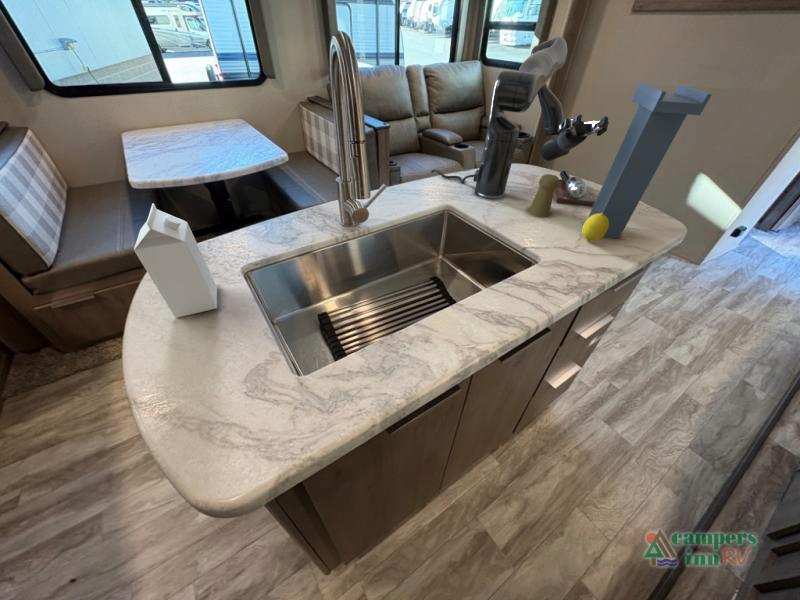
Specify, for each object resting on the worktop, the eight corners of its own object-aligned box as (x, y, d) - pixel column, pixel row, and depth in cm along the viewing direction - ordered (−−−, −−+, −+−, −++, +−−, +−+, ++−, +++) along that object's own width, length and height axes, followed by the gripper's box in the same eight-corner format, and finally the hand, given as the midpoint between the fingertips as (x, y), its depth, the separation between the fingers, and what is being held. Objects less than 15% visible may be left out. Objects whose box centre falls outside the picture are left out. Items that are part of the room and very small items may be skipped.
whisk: (585, 202, 99) (591, 186, 96) (568, 201, 100) (574, 185, 97) (569, 177, 115) (574, 163, 112) (554, 177, 116) (559, 162, 112)
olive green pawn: (545, 218, 94) (558, 181, 86) (525, 212, 96) (536, 176, 89) (551, 211, 97) (565, 175, 90) (532, 206, 100) (544, 170, 93)
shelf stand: (626, 243, 84) (712, 94, 62) (590, 239, 85) (662, 91, 63) (611, 222, 93) (682, 85, 71) (579, 219, 94) (639, 82, 72)
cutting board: (592, 205, 101) (594, 201, 100) (556, 202, 103) (557, 197, 102) (579, 185, 114) (581, 181, 113) (547, 182, 115) (548, 178, 114)
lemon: (590, 248, 82) (604, 220, 77) (572, 238, 86) (585, 210, 80) (604, 244, 84) (619, 216, 79) (586, 234, 88) (599, 206, 82)
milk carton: (175, 319, 59) (118, 226, 47) (178, 295, 64) (127, 206, 52) (217, 309, 62) (174, 218, 49) (217, 287, 66) (177, 200, 54)
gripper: (552, 123, 112) (570, 103, 96) (595, 126, 111) (621, 106, 95) (548, 145, 114) (565, 130, 98) (590, 149, 112) (615, 134, 96)
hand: (593, 119), depth 96 cm, fingers open, 6 cm apart
